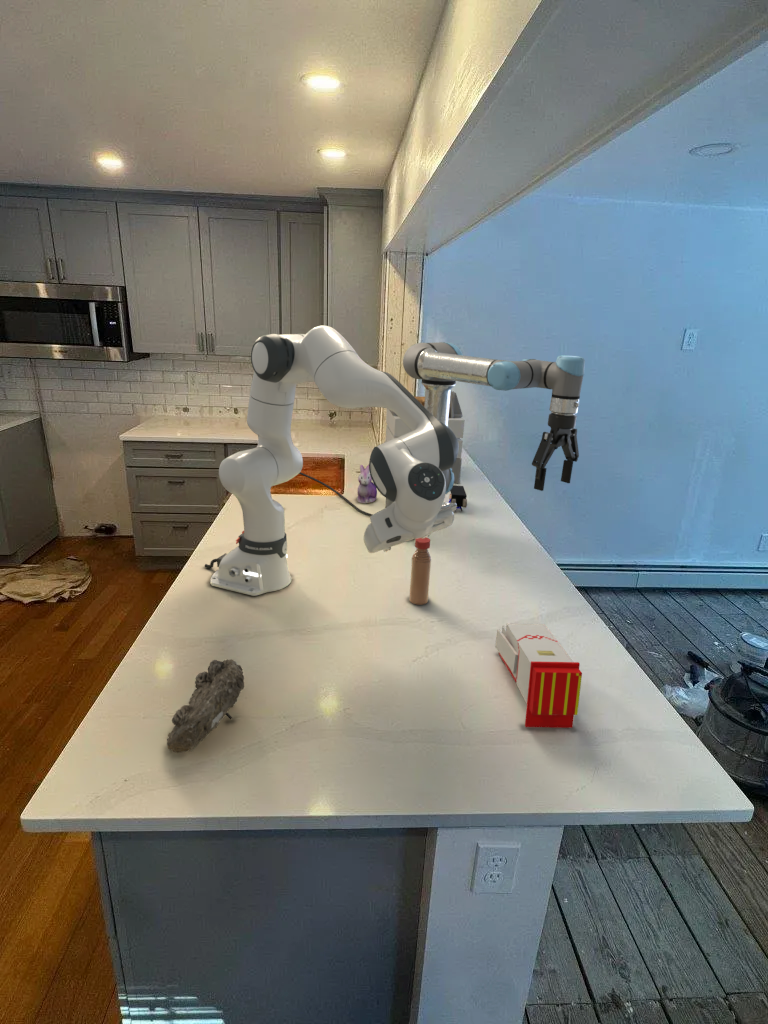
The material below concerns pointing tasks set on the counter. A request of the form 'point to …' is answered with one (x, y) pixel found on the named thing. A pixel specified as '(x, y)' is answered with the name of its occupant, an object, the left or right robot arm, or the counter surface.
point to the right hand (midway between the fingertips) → (552, 485)
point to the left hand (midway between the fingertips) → (404, 541)
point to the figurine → (366, 486)
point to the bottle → (420, 577)
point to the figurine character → (458, 496)
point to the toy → (541, 674)
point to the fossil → (206, 705)
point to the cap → (422, 543)
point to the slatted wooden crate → (454, 423)
